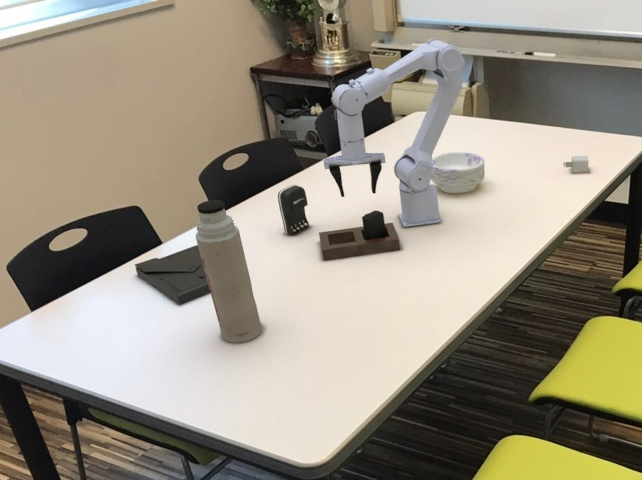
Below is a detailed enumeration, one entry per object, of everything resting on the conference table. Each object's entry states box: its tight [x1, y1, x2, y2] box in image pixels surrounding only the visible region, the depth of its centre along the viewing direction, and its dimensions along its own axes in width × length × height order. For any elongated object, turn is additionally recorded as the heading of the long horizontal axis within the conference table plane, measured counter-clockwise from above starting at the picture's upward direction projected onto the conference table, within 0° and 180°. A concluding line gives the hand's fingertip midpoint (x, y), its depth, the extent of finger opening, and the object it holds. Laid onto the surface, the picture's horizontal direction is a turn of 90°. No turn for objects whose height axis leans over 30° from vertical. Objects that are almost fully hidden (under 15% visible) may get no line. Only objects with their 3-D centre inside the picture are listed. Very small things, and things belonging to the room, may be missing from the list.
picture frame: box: [134, 244, 211, 305], centre depth 184 cm, size 16×3×21 cm
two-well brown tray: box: [318, 222, 401, 261], centre depth 194 cm, size 18×10×3 cm, turn 104°
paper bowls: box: [430, 151, 486, 194], centre depth 221 cm, size 15×15×8 cm
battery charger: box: [277, 184, 310, 236], centre depth 200 cm, size 7×4×11 cm, turn 146°
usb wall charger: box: [562, 155, 589, 174], centre depth 229 cm, size 4×7×4 cm, turn 89°
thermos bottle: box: [195, 199, 263, 344], centre depth 155 cm, size 8×8×28 cm
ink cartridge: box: [361, 210, 386, 240], centre depth 193 cm, size 5×2×8 cm, turn 137°
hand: (358, 193), depth 195 cm, fingers open, 7 cm apart
